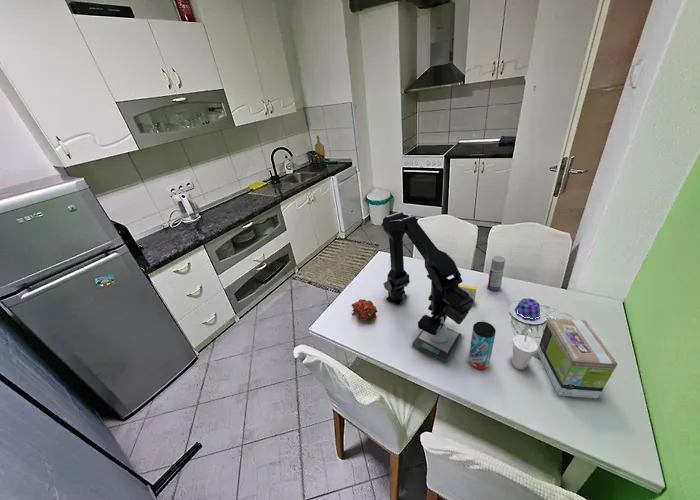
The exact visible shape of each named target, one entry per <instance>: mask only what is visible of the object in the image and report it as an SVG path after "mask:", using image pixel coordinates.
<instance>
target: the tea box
mask: <svg viewBox="0 0 700 500" xmlns="http://www.w3.org/2000/svg"><path fill="white" fill-rule="evenodd" d="M536 353H537V354H538V356H539V358H540V361H541V362H542V364H543V367H544V369H545V371H546V373H547V375H548V378H549V379H550V381H551V383H552V386H553V388H554V389H555V392H556V394H557V396H561V397H575V398H585V399H586V398H587V399H598V398H599V397H600V396H601V394H602V392H603V390H604V389H605V388H606V385H607V383H608V382H609V380H610V379H611V377H612V375H613V374H614V371H615V370H616V368H617V366H618V362H617V361H616V359H615V358H614V356H613V355H612V353H610V351H609V349H608V348H607V347H606V346H605V344H604V343H603V342H602V341H601V339H600V338H599V337H598V335H597V334H596V333H595V331H594V330H593V328H592V327H591V326H590V324H589V323H588V321H586V319H566V318H547V320H546V324H545V327H544V330H543V333H542V335H541V339H540V341H539V344H538V350H537V352H536Z"/></svg>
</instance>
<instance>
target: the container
mask: <svg viewBox="0 0 700 500" xmlns="http://www.w3.org/2000/svg"><path fill="white" fill-rule="evenodd" d="M505 264H506V259H505V257H503V256H502V255H501V256H500V255H495V256H493V257H492V258H491V263H490V269H489V275H488V280H487V290H488V291H489V292H491V293H500V291H501V285H502V281H503V276H504V270H505Z"/></svg>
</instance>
